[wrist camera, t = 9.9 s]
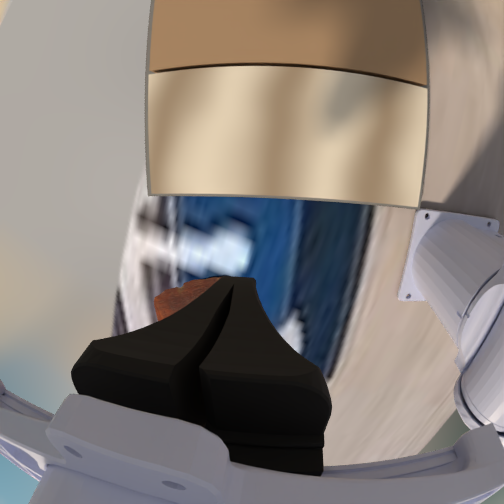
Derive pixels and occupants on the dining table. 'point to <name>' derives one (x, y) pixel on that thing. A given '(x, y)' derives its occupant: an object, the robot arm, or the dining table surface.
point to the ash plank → (286, 134)
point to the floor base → (290, 44)
